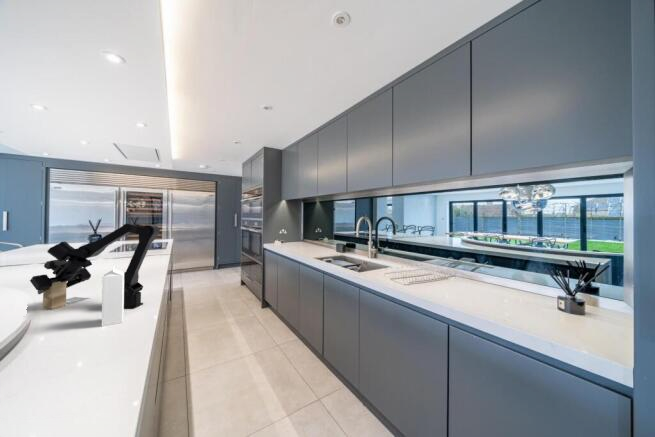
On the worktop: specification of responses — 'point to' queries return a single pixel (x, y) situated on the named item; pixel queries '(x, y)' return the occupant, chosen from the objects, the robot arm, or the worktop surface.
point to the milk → (112, 297)
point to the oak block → (55, 296)
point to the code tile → (75, 300)
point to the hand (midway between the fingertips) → (52, 290)
